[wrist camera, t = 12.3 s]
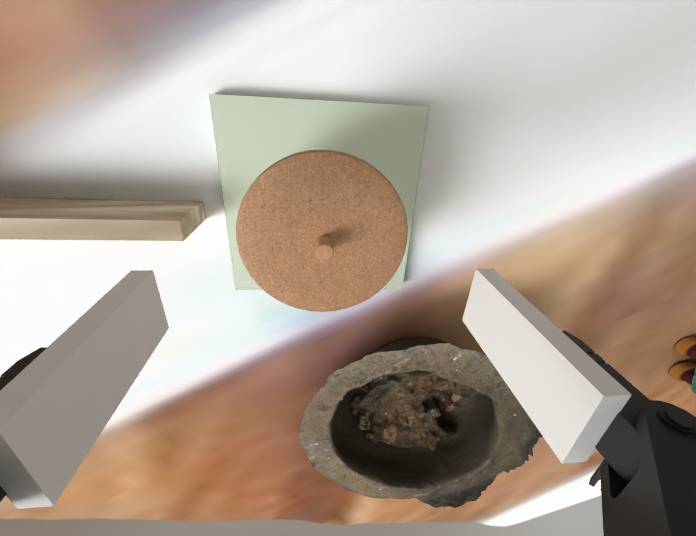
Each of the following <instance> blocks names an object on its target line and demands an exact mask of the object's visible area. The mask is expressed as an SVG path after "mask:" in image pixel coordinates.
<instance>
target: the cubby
mask: <svg viewBox="0 0 696 536" xmlns="http://www.w3.org/2000/svg"><path fill="white" fill-rule="evenodd" d="M204 220H205V213H204V207H203V202H180V201H133V200H86V199H39V198H0V239H42V240H157V241H184V240H185V239H186V238H187V237H188V236H189V235H190V234H191V233H192V232H193V231H194V230H195V229H196V228H197V227H198V226H199V225H200V224H201V223H202V222H203V221H204Z"/></svg>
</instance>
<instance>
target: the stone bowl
mask: <svg viewBox="0 0 696 536" xmlns="http://www.w3.org/2000/svg"><path fill="white" fill-rule="evenodd" d="M453 394H457V395H460V400H458V401H456V402H453V401H452V399H451V397H452V395H453ZM450 405H454V406H455V408H454V410H453V411H451V412H444V410H445V409H446V408H447V407H448V406H450ZM540 437H543V436H542V434H541V433H540V431H539V430H538V428H537V427H536V426H535V424H534V423H533V421H532V420H531V418H530V417H529V416H528V414H527V413H526V411H525V410H524V408H523V407H522V406H521V404H520V403H519V401H518V400H517V398H516V397H515V395H514V394H513V393H512V391H511V390H510V388H509V387H508V385H507V384H506V383H505V381H504V380H503V378H502V377H501V375H500V374H499V373H498V371H497V370H496V368H495V367H494V365H493V364H492V362H491V361H490V360H489V358H488V357H487V355H486V354H482V353H480V352H478V351H475V350H468V349H462V348H459V347H456V346H453V345H452V344H451V343H446V342H444V341H441V340H437V339H433V338H422V337H421V338H417V339H405V340H403V339H402V340H398V341H395V342H393V343H389V344H388V345H386V346H385V347H382V348H380V349H378V350H376V351H374V352H372V353H370V354H369V355H367V356H364V357H363V359H361V360H358V361H356V362H353V363H351V364H349V365H347V366H346V367H344V368H342V369H338V370H337V371H336V372H333V373H332V374H330V375H329V376H328V377H327V380H326V381H325V386H324V387H322V388H320V390H319V392H318V393H317V394H316V395H315V396H314V398H313V399H312V401H311V403H310V404H309V405H308V407H307V408H306V409H305V411H304V416H303V418H302V421H301V425H300V430H299V441H300V442H301V444H302V446H303V447H306V448H305V450H306V451H307V453H306V456H307V457H308V458H309V459H310V462H311V463H312V467H314V468H315V469H317V470H318V471H319V472H320V473H322V474H323V475H324V476H326V477H328V478H329V479H332V480H334V481H336V482H337V483H339V484H340V485H341V486H342V487H343V488H344V489H345V490H348V491H352V492H355V493H357V494H360V495H364V496H368V497H371V498H381V499H383V498H394V499H411V498H417V499H419V500H420V501H422V502H424V503H427V504H429V505H431V506H433V507H436V508H438V507H441V506H443V507H447V506H451V507H454V508H456V507H458V506H462V505H463V504H465V503H466V502H468V501H476V500H477V499H478V498H479V497H480V496H481V491H483V490H486V488H487V486H489V485H491V483H492V482H493V481H494V479H495V478H496V475H497V474H499V473H501V472H503V471H505V472H507V473H508V472H509V470H511V469H516V467H520V466H522V465H523V464H524V463H525V460H527V461H529V459H528V454H530V455H532V456H533V452H532V448H533V447H534V445H535V444H536V443H537V441H538V438H540Z"/></svg>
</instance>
